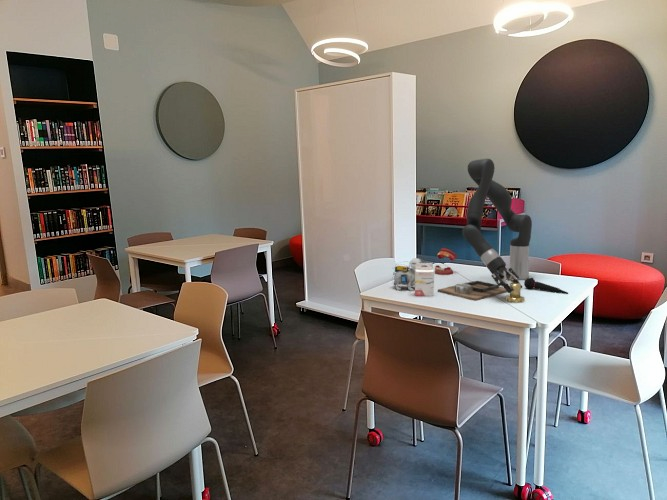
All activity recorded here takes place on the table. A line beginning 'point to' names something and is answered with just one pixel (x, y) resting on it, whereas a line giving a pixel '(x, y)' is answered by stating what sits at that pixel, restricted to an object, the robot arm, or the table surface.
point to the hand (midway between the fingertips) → (515, 290)
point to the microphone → (541, 286)
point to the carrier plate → (474, 290)
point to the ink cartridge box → (424, 279)
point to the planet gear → (515, 293)
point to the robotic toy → (406, 274)
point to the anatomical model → (443, 254)
